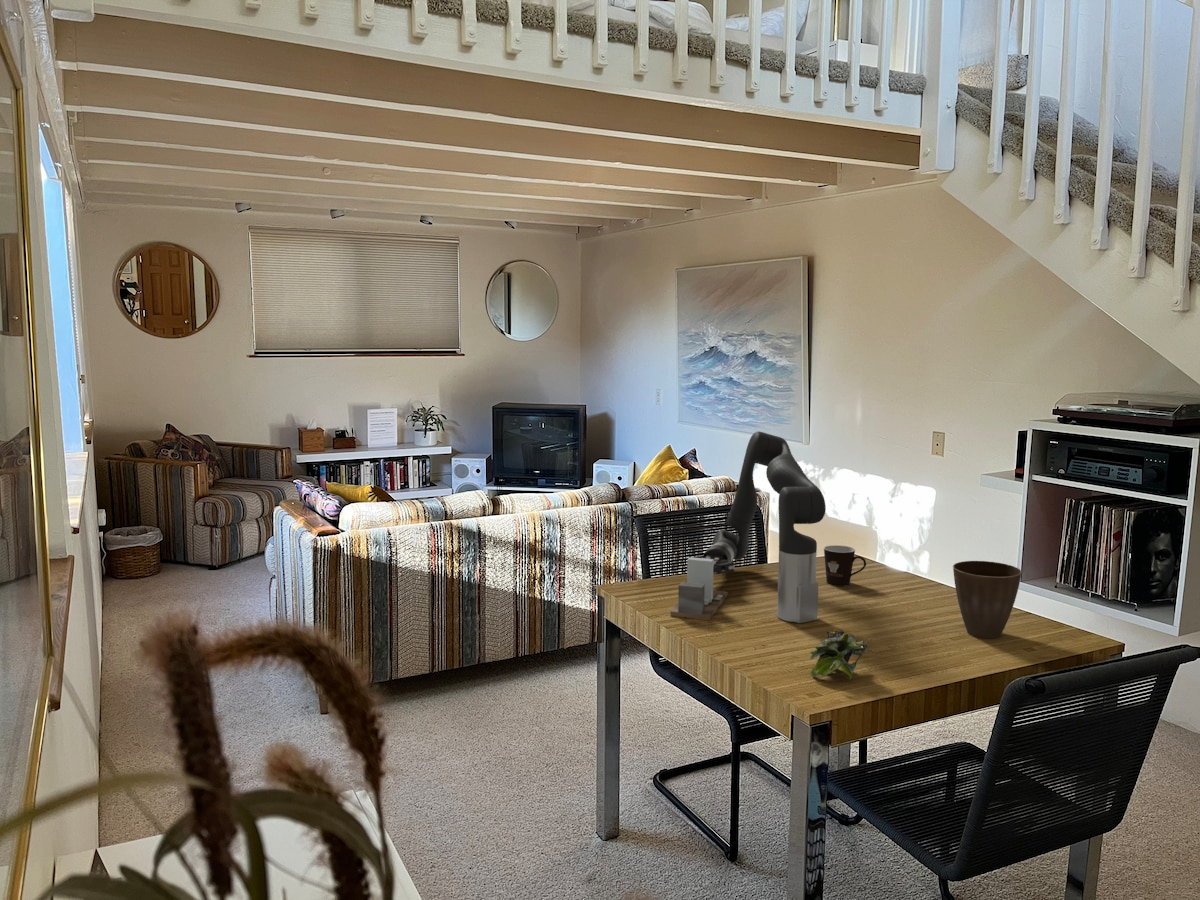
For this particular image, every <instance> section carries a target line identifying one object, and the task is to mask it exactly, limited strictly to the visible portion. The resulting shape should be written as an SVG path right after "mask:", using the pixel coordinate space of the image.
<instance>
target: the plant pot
mask: <svg viewBox="0 0 1200 900" xmlns="http://www.w3.org/2000/svg"><path fill="white" fill-rule="evenodd" d="M952 570H953V580H954V586H955V587H954V588H955V592H956V597H957V598H956V599H957V602H958V607H959V610H960V614H961V616H962V617H961V618H962V620H963V624H964V626H965V627H964V628H965V629H966V632H967V633H968V634H969V635H970V636H973V637H975V638H976V637H977V638H982V639H997V638H1000V637H1001V635H1002V634H1003V631H1004V630H1005V627H1006V625H1007V623H1008V621H1009V618H1010V616H1011V613H1012V611H1013V607H1014V605H1015V601H1016V599H1017V595H1018V591H1019V589H1020V588H1019V587H1020V582H1021V577H1022V570H1021V569H1020V568H1018V567H1016V566H1013V565H1011V564H1006V563H1001V562H995V561H987V560H965V561H959V562H956V563H954V564H953V565H952Z"/></svg>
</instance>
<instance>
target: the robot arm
mask: <svg viewBox="0 0 1200 900" xmlns="http://www.w3.org/2000/svg"><path fill="white" fill-rule="evenodd" d="M756 464H757V465H760V466H761V465H762V466H765V467H766V469H765V470H766V472H765V473H766V479H767V481H768V483H769V485H770V486H771V488H772V489H773V490H774V492H776V494H778V565H777V566H778V567H777V568H778V569H777V574H778V575H777V597H776V598H777V601H776V602H777V603H776V604H777V605H776V606H777V609H776V617H778V619H780V620H783V621H785V622H790V623H791V622H792V623H796V624H802V623H809V622H811V621H817V620H818V612H819V611H818V608H819V607H818V605H819V604H818V603H819V583H818V581H816V577H817V575H816V574H817V553H818V552H817V550H818V549H817V548H818V545H817V541H816V539H815V538H813V537H811V536H808V535H805V534H803V533H800V532H799V531H797V530H795V526H794V525H812V524H817V523H820V522H821V521H822V520H823V518H824V517H825V514H826V508H827V507H826V501H825V497H824V495H823V493H822V491H821V490H820V488H819V487H818V486H817V484H815V483H814V482H812V481H811V480H810V479H809V477H808V476H807V475H806V473H805V472H804V471H803V469H802V467H801V465H800V464H799V463H798V462H797V461H796V459H795V457H794V456H793V454H792V452H791V449H790V446H789V444H788V442H787V440H786V439H784V438H783V437H782V436H778V435H774V434H771V433H770V434H769V433H766V432H764V431H759V430H758V431H755V432H753V433H752V435H751V437H750V438H749V441H748V444H747V446H746V451H745V454H744V458H743V462H742V467H741V470H740V471H741V472H740V475H739V479H738V485H737V489H736V494H735V497H734V499H733V501H732V505H731V508H730V510H729V513H728V515H727V518H726V520H727V521H726V522H727V524H728V526H730V527H731V528H733V529H734V530H735V531H736V532H737V534H738V535H737V534H735V533H733V532H731V531H728V530H726V529H721V530H719V531H717V532H716V533H715V534H714V537H713V539H712V545H711V546H709V548H708V549H707V550H706V551H705V552H704V553H703V555H702V557H701V558H704V559H714V566H713V575H721V574H722V575H723V574H726V573H733V572H735V562H734V560H736V561H739V560H742V559H743V558H744V557H746V554H747V552H748V545H749V533H750V527H751V524H752V521H753V519H754V516H755V514H756V511H757V508H758V507H757V506H758V496H757V492H756V488H755V481H754V468H755V465H756Z"/></svg>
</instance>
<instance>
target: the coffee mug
mask: <svg viewBox="0 0 1200 900" xmlns="http://www.w3.org/2000/svg"><path fill="white" fill-rule="evenodd" d="M855 552H856V549H855V548H854V547H851V546H847V545H841V544H840V545H838V544H834V545H831V544H830V545H826V546H824V547H823V554H824V567H825V577H826V578H825V580H826V583H827V584H828V585H830V584H831V586H834V585H836V587H847V586H849V585H850V584H851V577H852V576H853V575H856V574H858V573H860V572H862V571H863V570H865V568H866V566H867V562H866V559H865V558H864V557H863V556H860V555H856V556H855ZM856 559H861V561H862V562H863V566H862V567H861V568H860V569H858V570H856V571H854V572H852V571H853V565H854V562H855V560H856ZM845 585H846V586H845Z"/></svg>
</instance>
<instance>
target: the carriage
mask: <svg viewBox="0 0 1200 900" xmlns="http://www.w3.org/2000/svg"><path fill="white" fill-rule="evenodd" d="M686 566H687V568H686V569H687V570H686V573H687V575H686V583H696V584H705V598H704V605H708V604H709V603H711V602H712V601H714V602H720V600H719V599H713V590H714V574H713V566H714V559H704V558H702V557H693V556H692V557H691V556H689V557H688V558H687V565H686Z"/></svg>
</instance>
